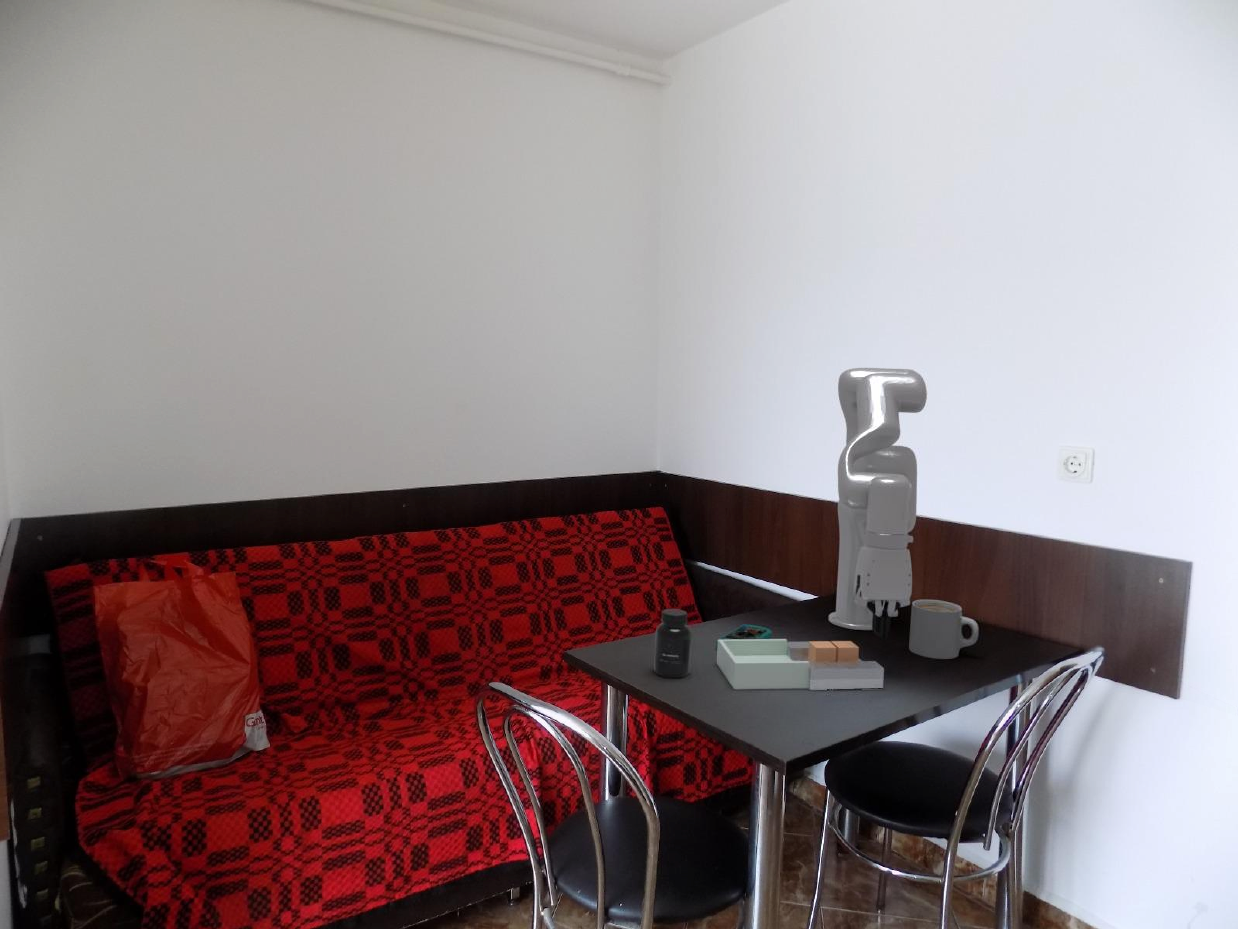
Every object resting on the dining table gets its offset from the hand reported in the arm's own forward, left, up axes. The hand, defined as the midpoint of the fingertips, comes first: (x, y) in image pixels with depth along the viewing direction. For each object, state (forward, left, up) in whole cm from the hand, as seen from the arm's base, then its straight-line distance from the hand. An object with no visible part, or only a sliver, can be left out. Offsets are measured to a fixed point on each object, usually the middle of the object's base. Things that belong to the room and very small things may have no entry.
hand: (880, 634), depth 163 cm
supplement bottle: (+40, -3, -8) cm, 41 cm away
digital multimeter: (+21, -20, -9) cm, 30 cm away
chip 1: (+11, -1, -6) cm, 13 cm away
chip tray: (+23, -1, -8) cm, 25 cm away
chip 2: (+7, -1, -6) cm, 9 cm away
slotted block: (+9, -1, -8) cm, 12 cm away
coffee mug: (-20, -13, -8) cm, 25 cm away
